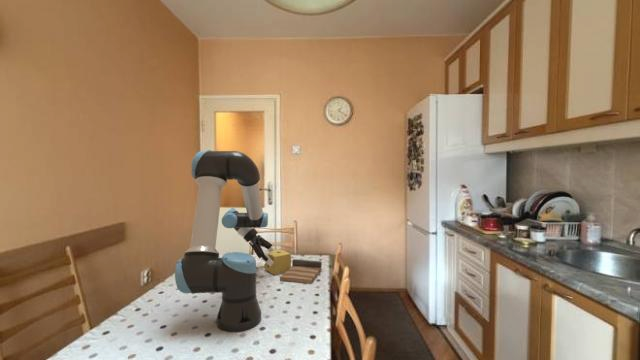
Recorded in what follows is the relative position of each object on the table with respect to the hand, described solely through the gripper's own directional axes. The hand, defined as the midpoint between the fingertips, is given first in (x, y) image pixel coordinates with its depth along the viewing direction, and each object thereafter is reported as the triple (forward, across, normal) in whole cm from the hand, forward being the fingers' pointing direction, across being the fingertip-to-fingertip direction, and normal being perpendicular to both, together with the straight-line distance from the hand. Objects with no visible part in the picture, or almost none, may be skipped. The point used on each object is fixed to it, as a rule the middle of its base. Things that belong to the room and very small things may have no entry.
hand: (275, 260), depth 155 cm
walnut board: (+14, +6, +7) cm, 17 cm away
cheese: (+5, 0, -3) cm, 6 cm away
